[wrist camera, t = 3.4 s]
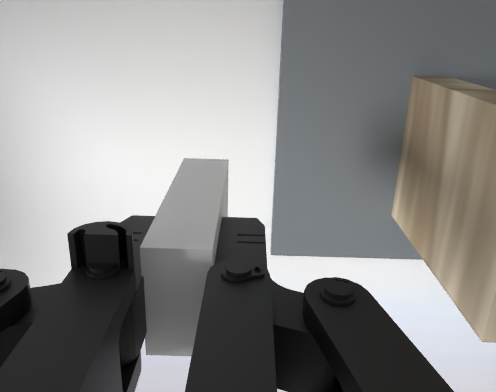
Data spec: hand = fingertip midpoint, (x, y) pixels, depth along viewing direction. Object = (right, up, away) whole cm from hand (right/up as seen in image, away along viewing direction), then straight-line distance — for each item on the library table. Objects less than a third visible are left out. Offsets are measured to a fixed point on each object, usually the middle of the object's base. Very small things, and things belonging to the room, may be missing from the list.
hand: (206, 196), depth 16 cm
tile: (+10, +2, +7) cm, 12 cm away
